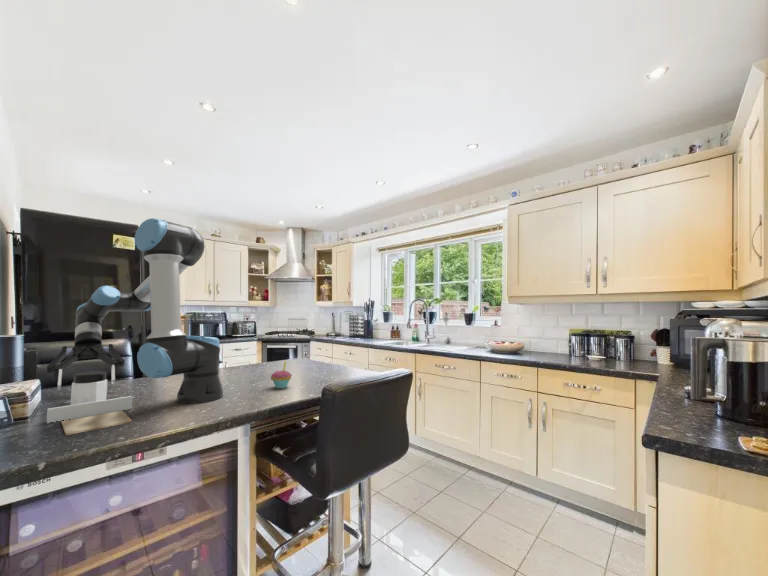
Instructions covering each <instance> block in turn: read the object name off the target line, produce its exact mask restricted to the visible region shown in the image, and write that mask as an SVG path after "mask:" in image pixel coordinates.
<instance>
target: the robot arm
mask: <svg viewBox="0 0 768 576" xmlns="http://www.w3.org/2000/svg"><path fill="white" fill-rule="evenodd" d="M134 244H135V246H136V248H137V249H138V250H139V251H141V252H143V260H145V261H146V262H148V265H149V276H148V277H147V278H145V279H144V281H143V282H142V283H141V284H139V286H137V288H135V290H134V291H132V292H121V291H120V290H119V289H117V288H116V287H115V286H113V287H112V286H110V285H102V286H99V287H98V288H97V289H96V290H95V291H94V292H93V293H92V294H91V296H90V298H89V299H88V301H87V302H84V303H83V304H80V305H78V307H77V308H76V312H75V328H74V344H73V345H74V346H73V347H68V346H66V345H65V346H64V345H63V346H62V348H61V351H60V352H59V353H58V354H57V355H56V356H55V358H54V359H52V361H51V362H49V364H48V365H47V366H46V373H47V374H51V373H53V378H52V379H53V380H52V381H54V382H57V389H56V391H61V389H62V378H63V370H65V369H66V368H68V367H69V366H70V365H72V364H74V363H75V362H78V360H80V359H82V360H86V359H94V358H95V359H97V360H101V361H102V362H103V363H105V364H107V366H108V365H109V366H110V367H111V369H110V373H111V374H110V377H111V378H110V379H111V380H110V381H111V382H110V383H111V385H114V384H115V382H116V376H118V375H119V369H120V367H121V368H123V367H124V366H125V359H123V357H122V356H121V355H120V354H119V352H117V350H115V349H114V348H115V347H114V345H113V344H112V343H110V344H108V345H105V346H103V341H102V339H103V338H102V336H103V333H102V332H103V331H102V330H103V328H102V323H103V322H102V321H103V320H104V318H105V317H106V316H107V315H108V314H109V312H137V313H138V312H149V311H150V327H151V328H150V329H151V331H150V333H149V334H148V335H147V337H145V343H144V344H142V345H141V346H140V347H139V348H138V351H137V355H136V359H137V364H138V368H139V369H140V372H141V373H143V374H144V375H145V376H146V377H147V378H150V379H161V378H168V377H172V376H177V375H182V374H183V379H182V381H181V384H180V385H179V386H180V387H179V389H178V392H177V394H176V402H178V403H180V404H199V403H201V404H202V403H205V402H206V403H208V402H213V401H216V400H219V399H220V398H223V396H224V389H223V386H222V382H221V379H220V376H219V375H220V372H219V371H220V370H219V369H220V355H221V354H220V353H221V352H220V350H221V347H220V339H219V338H218V337H214V336H202V335H201V336H200V335H187V334H186V333H185V332H184V331H183V330H182V322H181V321H182V317H181V290H180V288H181V287H180V275H182V273H183V272H184V271H185V270H186V269H188V267H193V266H194V265H196V264H197V262H199V260H200V259H201V258H202V257H203V254H204V252H205V241H204V239H203V236H202V234H201V233H199V232H198V230H196V229H195V228H193V227H190V226H185V225H182V224H177V223H174V222H171V221H168V220H165V219H158V218H154V217H153V218H148V219H145V220H144V221H142V222H141V223H140V225H138V227H137V230H136V232H135V234H134ZM104 351H105V352H106V353H108V354H109V355H107V354H106V353H105V352H104ZM70 353H72V354H71V355H70V356H69V357H68V358H66V359H65V357H66V356H67V355H69V354H70ZM64 359H65V360H64Z"/></svg>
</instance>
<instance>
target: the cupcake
mask: <svg viewBox="0 0 768 576" xmlns="http://www.w3.org/2000/svg"><path fill="white" fill-rule="evenodd" d="M286 365H287V360H285V361H284V363H283V370H276V371H274V372H273V373H272V374H271V375H270V380H271V381H272V382H273V384H274V388H275V389H277V388H282V389H286V388H288V384H289V383H290V380H291V379H292V376H293V375H292V374H291V373H290V372H289V371H287V370H286ZM285 387H286V388H285Z"/></svg>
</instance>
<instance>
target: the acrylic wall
mask: <svg viewBox="0 0 768 576" xmlns="http://www.w3.org/2000/svg"><path fill="white" fill-rule="evenodd" d="M132 409H133V395H129V396H123V397H121V396H120V397H116V398H110V399H106V400H101V401H94V402H88V403H81V404H75V405H70V404H68V405H63V406H62V405H61V406H56V407H48V408H47V412H46V422H47V423H46V424H51V423H50V422H53V423H57V422H56V421H58V422H62V420H64V421H66V420H69V419H70V420H72V419H77V418H83V417H89V416H95V415H100V414H106V413H112V412H117V411H125V410H126V411H127V410H132Z"/></svg>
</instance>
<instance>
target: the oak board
mask: <svg viewBox="0 0 768 576" xmlns="http://www.w3.org/2000/svg"><path fill="white" fill-rule="evenodd" d="M132 422H133V420H132V419H131V417H129V416H128V415H127V414H126V412H124V410H121V411H116V412H110V413H104V414H98V415H93V416H87V417H81V418H75V419H70V420H64V421H61V426H62V429H63V431H64V434H65V436H70V435H75V434H79V433H80V434H81V433H85V432H91V431H95V430H101V429H105V428H110V426H111V427H115V426H121V425H125V424H131V423H132Z"/></svg>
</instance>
